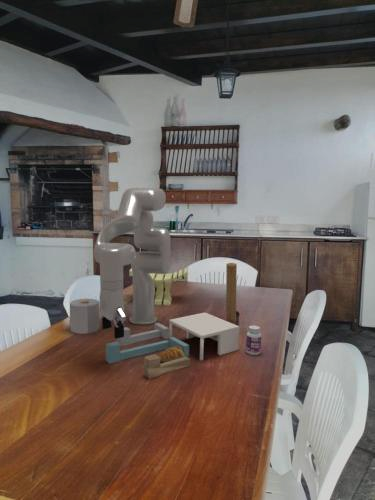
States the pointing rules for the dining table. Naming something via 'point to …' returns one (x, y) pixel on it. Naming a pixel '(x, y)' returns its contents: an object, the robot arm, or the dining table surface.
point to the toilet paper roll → (84, 316)
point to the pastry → (171, 354)
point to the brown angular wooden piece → (162, 365)
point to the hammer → (231, 294)
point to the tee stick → (143, 335)
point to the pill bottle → (253, 340)
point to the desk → (209, 331)
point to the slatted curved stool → (168, 282)
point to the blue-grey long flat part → (142, 349)
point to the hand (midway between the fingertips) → (112, 332)
